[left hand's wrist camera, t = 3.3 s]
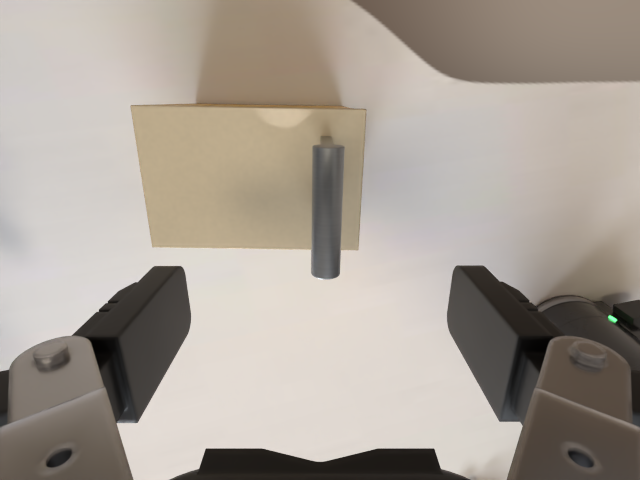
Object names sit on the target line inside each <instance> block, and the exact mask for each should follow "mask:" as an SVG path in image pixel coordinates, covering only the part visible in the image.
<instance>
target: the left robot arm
mask: <svg viewBox="0 0 640 480" xmlns="http://www.w3.org/2000/svg"><path fill="white" fill-rule="evenodd" d="M447 322H448V328H449V331H450V334H451V336H452V337H453V339H454V341H455V343H456V344H457V346H458V348H459V350H460V352H461V353H462V355H463V357H464V359H465V361H466V362H467V364H468V366H469V368H470V370H471V371H472V373H473V375H474V377H475V378H476V380H477V382H478V384H479V386H480V387H481V389H482V391H483V393H484V395H485V396H486V398H487V400H488V402H489V404H490V405H491V407H492V409H493V411H494V412H495V414H496V416H497V418H498V420H499V421H500V422H521V424H522V425H523V427H522V431H521V434H520V437H519V441H518V444H517V447H516V451H515V454H514V457H513V461H512V464H511V467H510V471H509V474H508V477H507V480H640V300H635V301H630V302H625V303H620V304H614V305H613V309H612V308H610V307H609V306H608V305H606V304H605V303H603V302H594V303H593V302H591V301H589V300H587V299H585V298H582V297H577V296H563V297H558V298H554V299H551V300H548V301H546V302H544V303H542V304H541V305H539V306H537V307H535V306H534V305H533V304H532V303H529V300H528V299H527V298H526V297H525V296H524V295H523V294H522V293H521V292H520V291H519V290H517V289H515V288H513V287H511V286H509V285H508V284H506V283H504V282H499V281H498V280H497V279H496V278H495V277H494V276H493V275H492V273H491V272H490V271H489V270H488V269H487V268H486V267H484V266H456V267H455V268H454V271H453V275H452V282H451V290H450V297H449V304H448V311H447ZM190 323H191V311H190V304H189V297H188V290H187V283H186V276H185V272H184V269H183V268H182V267H181V266H154V267H153V268H152V269H151V270H150V271H149V272H148V273H147V274H146V275H145V276H144V277H143V278H142V279H141V280H140V281H139V282H135V283H133V284H131V285H129V286H127V287H126V288H124V289H122V290H120V291H118V292H117V293H116V294H115V295H114V296H113V297H112V298H111V299H110V300H109V301H108V303H106V304H105V305H104V306H103V307H102V308H100V309H99V312H96V313H95V314H94V315H93V316H92V317H91V318H90V319H89V320H88V321H87V322H86V323H85V324H84V325H83V326H81V327H80V328H79V329H78V330H77V331H76V332H75V333H74V334H73V335H72V336H65V337H59V338H55V339H51V340H48V341H45V342H42V343H40V344H38V345H35V346H33V347H31V348H30V349H28V350H26V351H25V352H23V353H22V354H20V355H19V356H18V357H17V358H16V359H15V360H14V361H13V362H12V364H11V366H10V369H9V370H6V371H1V372H0V480H133V477H132V474H131V471H130V467H129V464H128V461H127V457H126V454H125V451H124V447H123V444H122V441H121V437H120V434H119V431H118V427H117V424H116V423H138V421H139V419H140V417H141V416H142V414H143V412H144V410H145V409H146V407H147V405H148V403H149V402H150V400H151V398H152V396H153V395H154V393H155V391H156V389H157V387H158V386H159V384H160V382H161V380H162V379H163V377H164V375H165V373H166V372H167V370H168V368H169V366H170V364H171V363H172V361H173V359H174V357H175V356H176V354H177V352H178V350H179V349H180V347H181V345H182V343H183V341H184V340H185V338H186V336H187V334H188V332H189V329H190ZM170 480H470V479H468V478H465V477H463V476H461V475H458V474H455V473H452V472H449V471H446V470H442V469H441V468H440V465H439V462H438V459H437V456H436V453H435V450H434V449H375V450H371V451H366V452H362V453H358V454H354V455H350V456H346V457H342V458H338V459H334V460H330V461H325V462H315V461H310V460H306V459H302V458H298V457H294V456H290V455H286V454H282V453H278V452H274V451H269V450H265V449H206V450H205V453H204V456H203V459H202V462H201V465H200V468H199V469H198V470H194V471H191V472H188V473H185V474H182V475H179V476H177V477H175V478H172V479H170Z"/></svg>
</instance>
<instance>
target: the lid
mask: <svg viewBox="0 0 640 480" xmlns="http://www.w3.org/2000/svg"><path fill="white" fill-rule="evenodd" d="M131 112H132V119H133V125H134V131H135V138H136V144H137V151H138V157H139V164H140V170H141V177H142V183H143V190H144V196H145V203H146V209H147V215H148V222H149V228H150V235H151V241H152V247H161V248H229V249H298V250H311V273H312V275H313V276H314V277H316V278H319V279H333V278H336V277H338V276H339V274H340V255H341V250H358V247H359V230H360V212H361V194H362V177H363V159H364V141H365V124H366V109H337V108H278V107H219V106H160V105H131Z"/></svg>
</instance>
